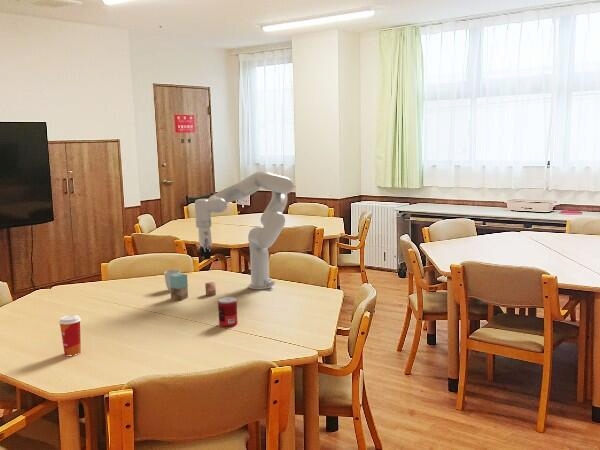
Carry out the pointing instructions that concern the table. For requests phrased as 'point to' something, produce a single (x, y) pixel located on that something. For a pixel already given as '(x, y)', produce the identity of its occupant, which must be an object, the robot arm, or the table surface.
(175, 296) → the tower bottom
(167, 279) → the cup
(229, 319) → the canned food
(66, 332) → the paper cup
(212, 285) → the drum
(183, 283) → the tower top
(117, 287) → the table surface
